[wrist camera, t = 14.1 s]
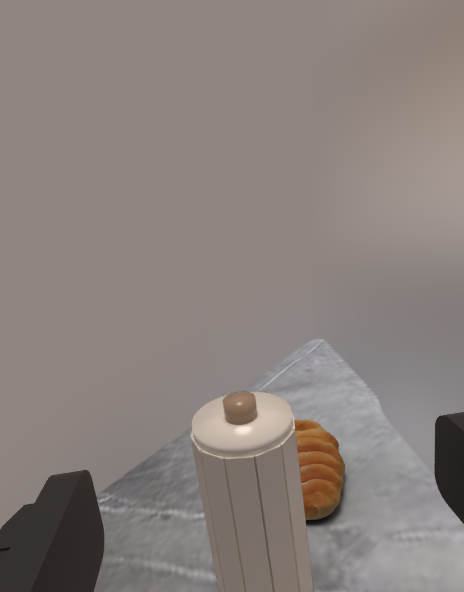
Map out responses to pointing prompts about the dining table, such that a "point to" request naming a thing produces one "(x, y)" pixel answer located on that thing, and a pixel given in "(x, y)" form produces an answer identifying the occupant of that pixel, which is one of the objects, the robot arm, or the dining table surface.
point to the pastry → (318, 469)
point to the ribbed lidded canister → (252, 493)
